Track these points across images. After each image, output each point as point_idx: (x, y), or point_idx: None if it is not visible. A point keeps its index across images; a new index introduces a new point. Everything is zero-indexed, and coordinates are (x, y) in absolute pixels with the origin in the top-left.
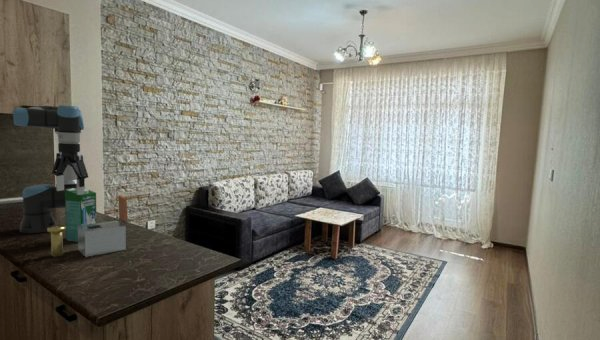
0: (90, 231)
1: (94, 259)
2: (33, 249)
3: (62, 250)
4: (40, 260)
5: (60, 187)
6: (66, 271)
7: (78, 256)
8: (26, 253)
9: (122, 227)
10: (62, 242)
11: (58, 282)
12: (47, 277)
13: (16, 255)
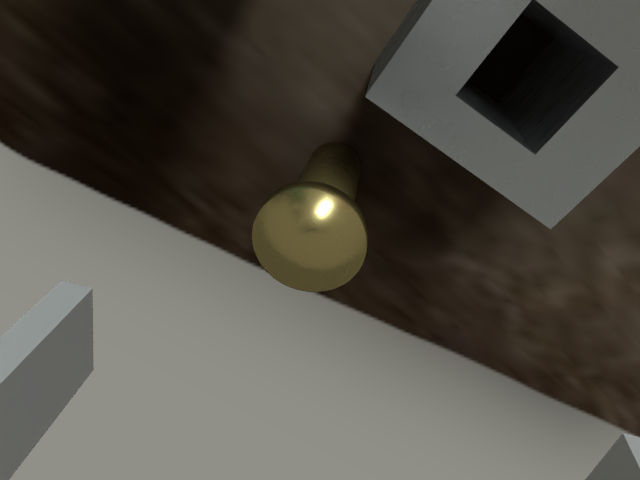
0: (580, 199)
1: None
2: (147, 132)
3: (357, 167)
4: None
5: (57, 373)
6: (538, 316)
7: None
8: (177, 187)
9: None
10: (352, 183)
11: (579, 395)
12: (503, 369)
13: (165, 219)
